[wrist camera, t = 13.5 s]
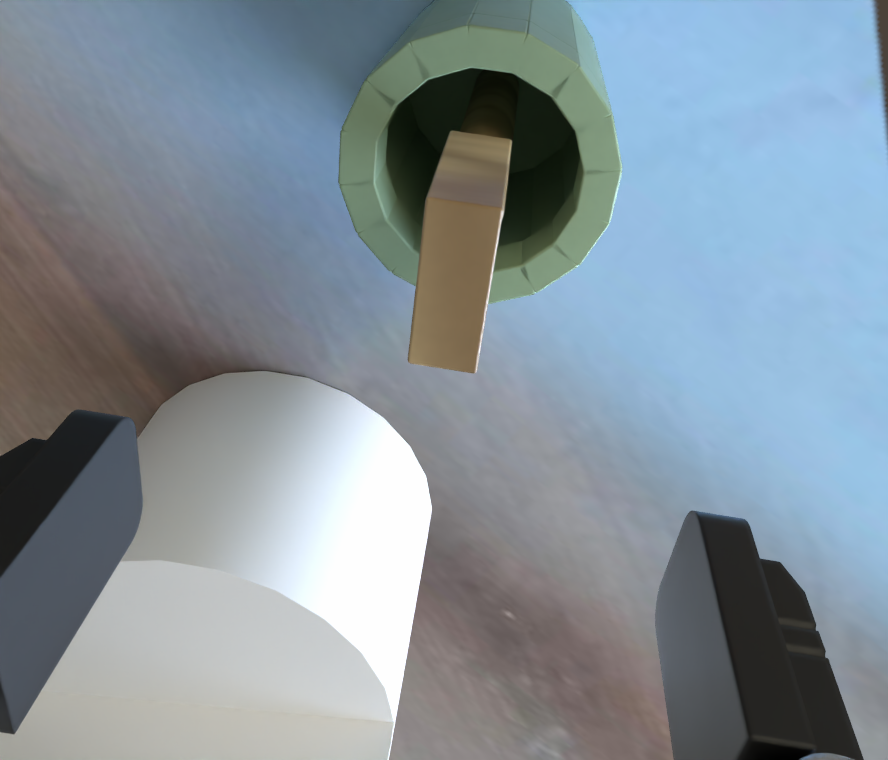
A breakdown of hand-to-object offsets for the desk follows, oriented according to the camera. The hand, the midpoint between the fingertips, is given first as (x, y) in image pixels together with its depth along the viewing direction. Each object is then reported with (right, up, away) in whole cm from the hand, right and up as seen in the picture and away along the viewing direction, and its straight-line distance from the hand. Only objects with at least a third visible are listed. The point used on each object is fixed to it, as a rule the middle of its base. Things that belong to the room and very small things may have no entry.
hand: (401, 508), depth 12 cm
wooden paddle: (+3, +14, +22) cm, 26 cm away
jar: (+3, +14, +22) cm, 27 cm away
